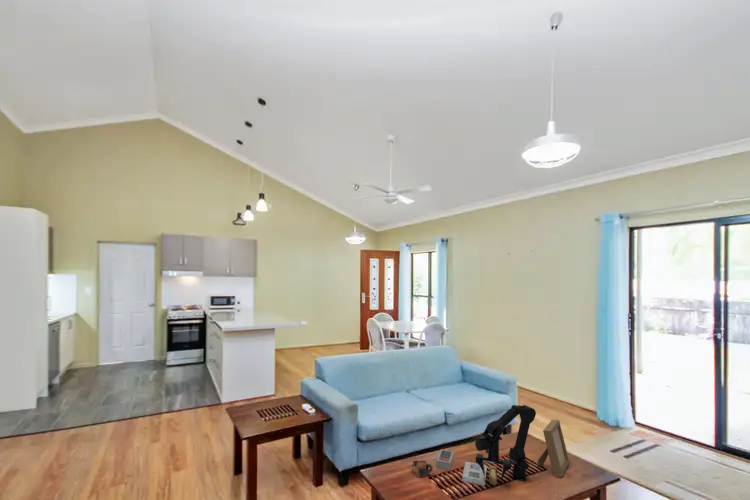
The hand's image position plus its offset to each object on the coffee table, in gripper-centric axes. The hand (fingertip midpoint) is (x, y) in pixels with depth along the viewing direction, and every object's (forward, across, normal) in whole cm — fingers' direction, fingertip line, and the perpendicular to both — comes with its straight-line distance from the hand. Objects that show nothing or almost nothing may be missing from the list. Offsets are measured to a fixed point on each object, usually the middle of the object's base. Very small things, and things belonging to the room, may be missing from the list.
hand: (493, 477), depth 210 cm
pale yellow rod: (+3, 0, 0) cm, 3 cm away
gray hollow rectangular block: (+3, +28, -12) cm, 31 cm away
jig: (+3, +10, -4) cm, 11 cm away
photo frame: (+3, -33, -32) cm, 46 cm away
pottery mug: (+3, +38, +6) cm, 39 cm away
